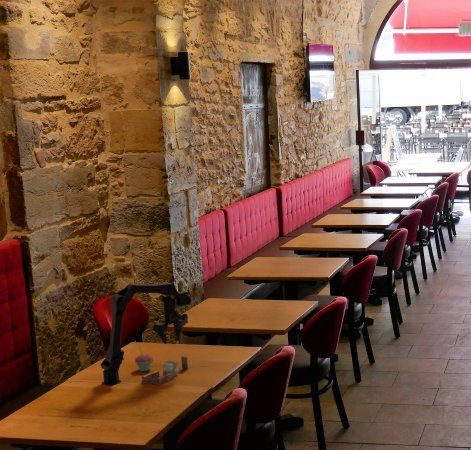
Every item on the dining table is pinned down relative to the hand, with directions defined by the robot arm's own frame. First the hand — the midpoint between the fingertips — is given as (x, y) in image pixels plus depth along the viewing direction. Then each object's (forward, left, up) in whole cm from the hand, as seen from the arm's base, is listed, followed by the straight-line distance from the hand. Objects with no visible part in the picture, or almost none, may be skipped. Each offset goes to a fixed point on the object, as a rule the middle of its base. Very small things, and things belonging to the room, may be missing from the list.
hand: (171, 341), depth 408 cm
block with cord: (-4, -6, -13) cm, 15 cm away
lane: (-17, -6, -13) cm, 23 cm away
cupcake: (-8, +11, -13) cm, 19 cm away
